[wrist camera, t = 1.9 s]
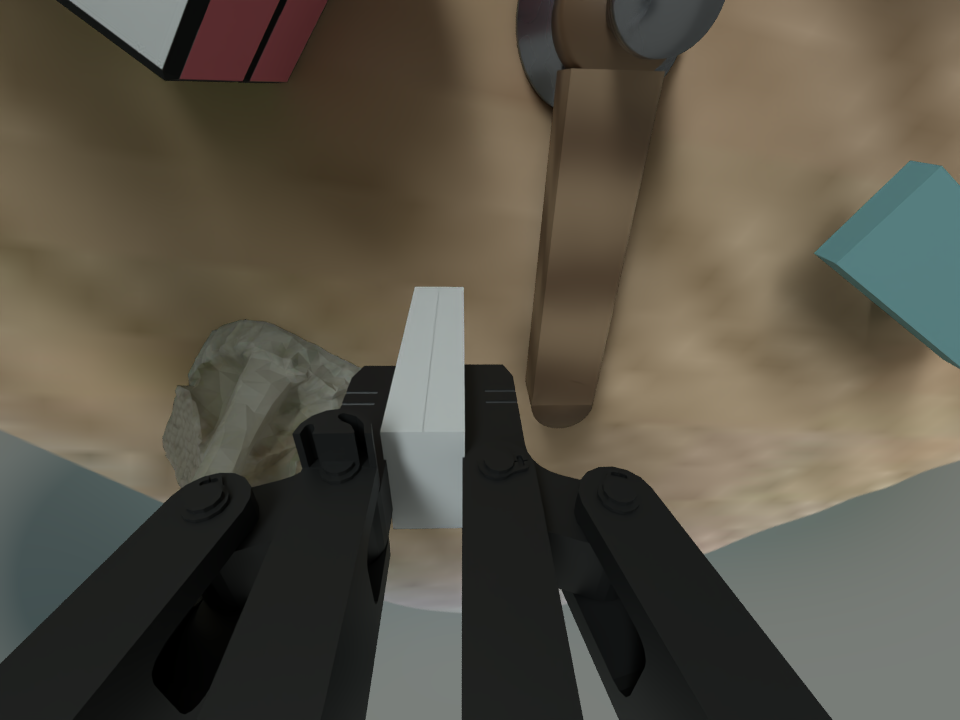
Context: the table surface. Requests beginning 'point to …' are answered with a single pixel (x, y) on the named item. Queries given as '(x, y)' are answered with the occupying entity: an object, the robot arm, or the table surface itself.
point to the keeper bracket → (908, 254)
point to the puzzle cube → (207, 35)
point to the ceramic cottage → (251, 403)
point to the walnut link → (586, 206)
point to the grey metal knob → (634, 23)
